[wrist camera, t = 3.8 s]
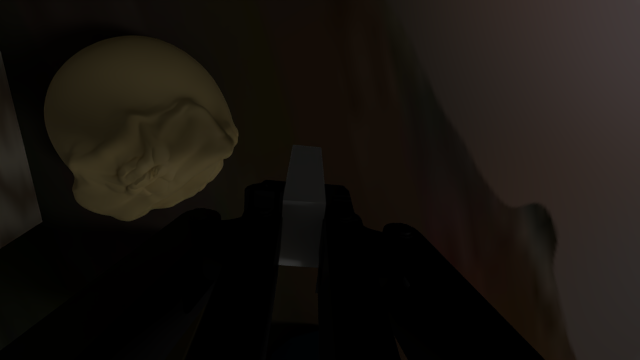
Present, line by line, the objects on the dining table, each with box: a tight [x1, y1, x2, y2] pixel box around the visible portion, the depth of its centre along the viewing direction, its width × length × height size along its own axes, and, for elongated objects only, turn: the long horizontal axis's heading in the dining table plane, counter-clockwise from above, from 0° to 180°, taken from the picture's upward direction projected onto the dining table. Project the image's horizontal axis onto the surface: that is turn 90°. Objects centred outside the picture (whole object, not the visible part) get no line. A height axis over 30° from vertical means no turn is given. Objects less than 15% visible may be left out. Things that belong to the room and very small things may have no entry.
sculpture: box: [44, 35, 238, 221], centre depth 23 cm, size 12×12×11 cm
